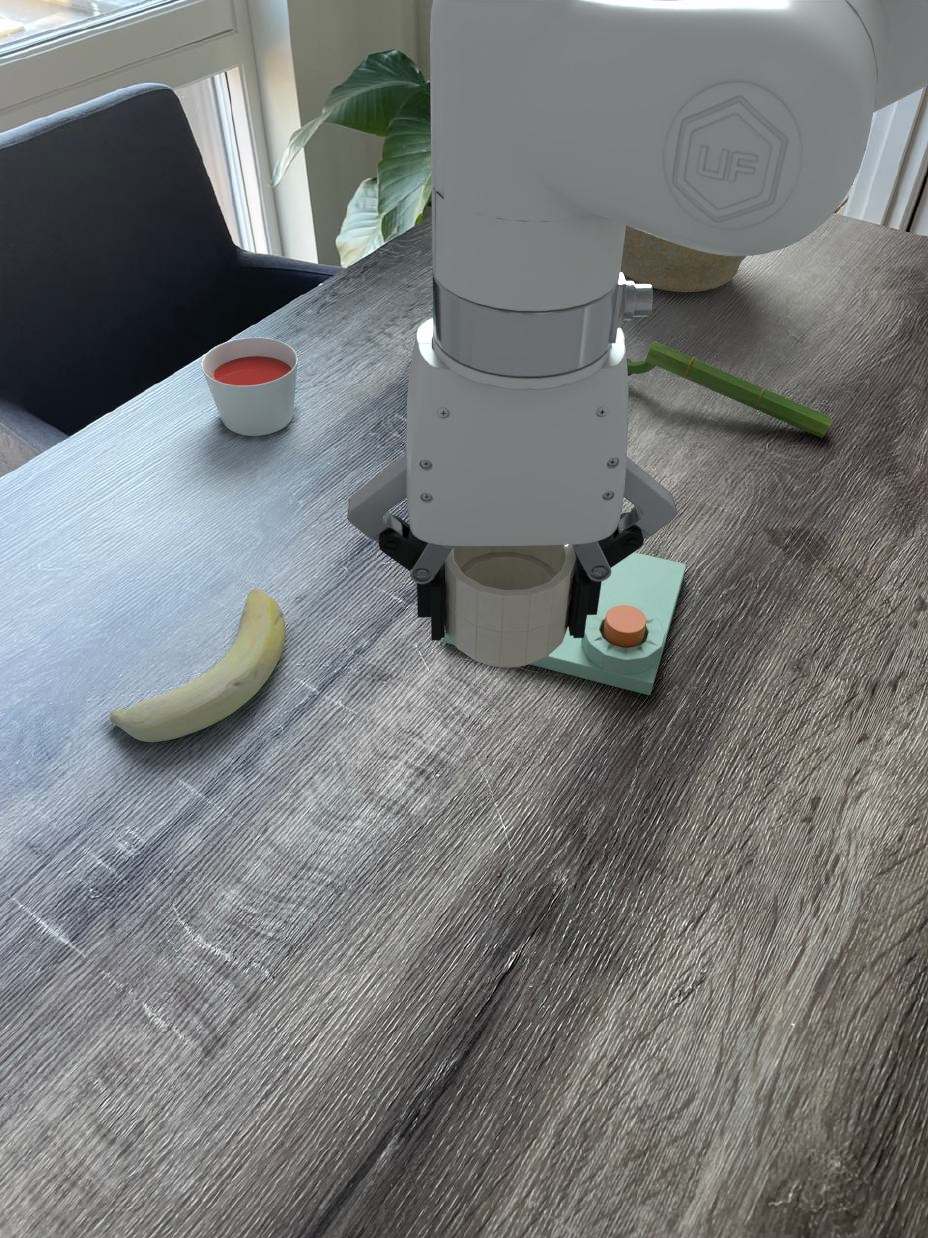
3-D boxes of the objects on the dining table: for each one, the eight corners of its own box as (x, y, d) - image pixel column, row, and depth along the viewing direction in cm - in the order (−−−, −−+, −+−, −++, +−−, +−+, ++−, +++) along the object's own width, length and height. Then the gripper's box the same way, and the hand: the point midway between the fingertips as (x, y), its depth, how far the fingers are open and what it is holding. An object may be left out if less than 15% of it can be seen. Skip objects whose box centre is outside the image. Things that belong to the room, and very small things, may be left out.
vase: (785, 321, 115) (862, 26, 94) (590, 317, 115) (623, 21, 94) (747, 238, 131) (805, -29, 110) (576, 235, 131) (601, -34, 110)
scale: (683, 576, 83) (690, 548, 81) (650, 696, 73) (656, 668, 71) (500, 534, 86) (501, 506, 84) (445, 643, 77) (445, 615, 75)
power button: (647, 625, 75) (650, 610, 74) (639, 652, 73) (642, 637, 72) (608, 615, 76) (610, 600, 74) (599, 642, 73) (601, 627, 72)
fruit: (326, 645, 77) (322, 613, 74) (179, 773, 68) (170, 741, 65) (258, 607, 80) (252, 576, 77) (108, 725, 71) (97, 693, 68)
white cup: (578, 603, 56) (588, 525, 52) (548, 686, 51) (557, 609, 47) (465, 577, 57) (467, 500, 53) (427, 656, 52) (425, 578, 49)
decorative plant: (826, 438, 94) (539, 312, 98) (791, 494, 101) (524, 374, 105) (842, 398, 97) (563, 278, 101) (806, 455, 104) (547, 341, 108)
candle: (225, 452, 95) (214, 394, 90) (202, 404, 100) (191, 347, 96) (315, 431, 97) (309, 374, 93) (288, 386, 103) (281, 330, 99)
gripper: (712, 270, 44) (653, 572, 57) (319, 271, 44) (347, 577, 56) (753, 356, 39) (678, 669, 51) (305, 359, 38) (339, 675, 51)
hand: (505, 619), depth 54 cm, fingers closed on white cup, 6 cm apart
